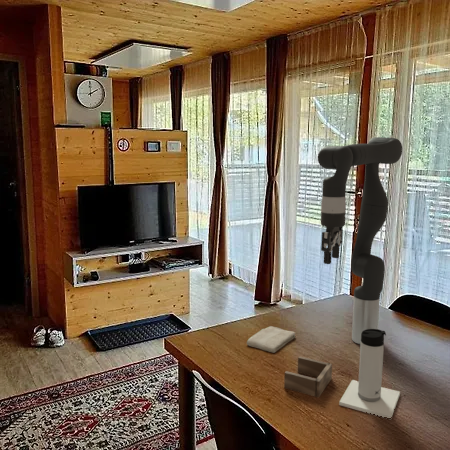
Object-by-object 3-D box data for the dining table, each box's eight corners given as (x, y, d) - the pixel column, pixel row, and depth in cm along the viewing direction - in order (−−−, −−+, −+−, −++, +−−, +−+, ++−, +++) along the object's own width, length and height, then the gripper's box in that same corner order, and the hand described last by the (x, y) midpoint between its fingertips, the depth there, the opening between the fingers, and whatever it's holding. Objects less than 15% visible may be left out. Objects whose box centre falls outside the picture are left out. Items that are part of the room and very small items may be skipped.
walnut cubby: (299, 370, 148) (299, 356, 147) (331, 378, 143) (332, 364, 142) (284, 387, 138) (284, 372, 137) (318, 397, 132) (319, 381, 132)
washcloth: (296, 337, 175) (297, 330, 174) (274, 355, 160) (274, 347, 160) (269, 330, 181) (269, 323, 181) (246, 347, 167) (246, 339, 166)
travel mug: (383, 403, 127) (387, 336, 124) (358, 400, 129) (362, 334, 125) (380, 391, 133) (384, 327, 130) (357, 389, 135) (360, 325, 131)
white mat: (352, 382, 141) (352, 379, 140) (399, 394, 134) (400, 391, 133) (339, 404, 129) (339, 401, 128) (390, 419, 122) (391, 416, 121)
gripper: (338, 214, 134) (336, 267, 137) (351, 208, 146) (349, 257, 149) (314, 212, 138) (312, 264, 141) (328, 207, 150) (326, 254, 153)
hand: (331, 260), depth 145 cm, fingers open, 8 cm apart
